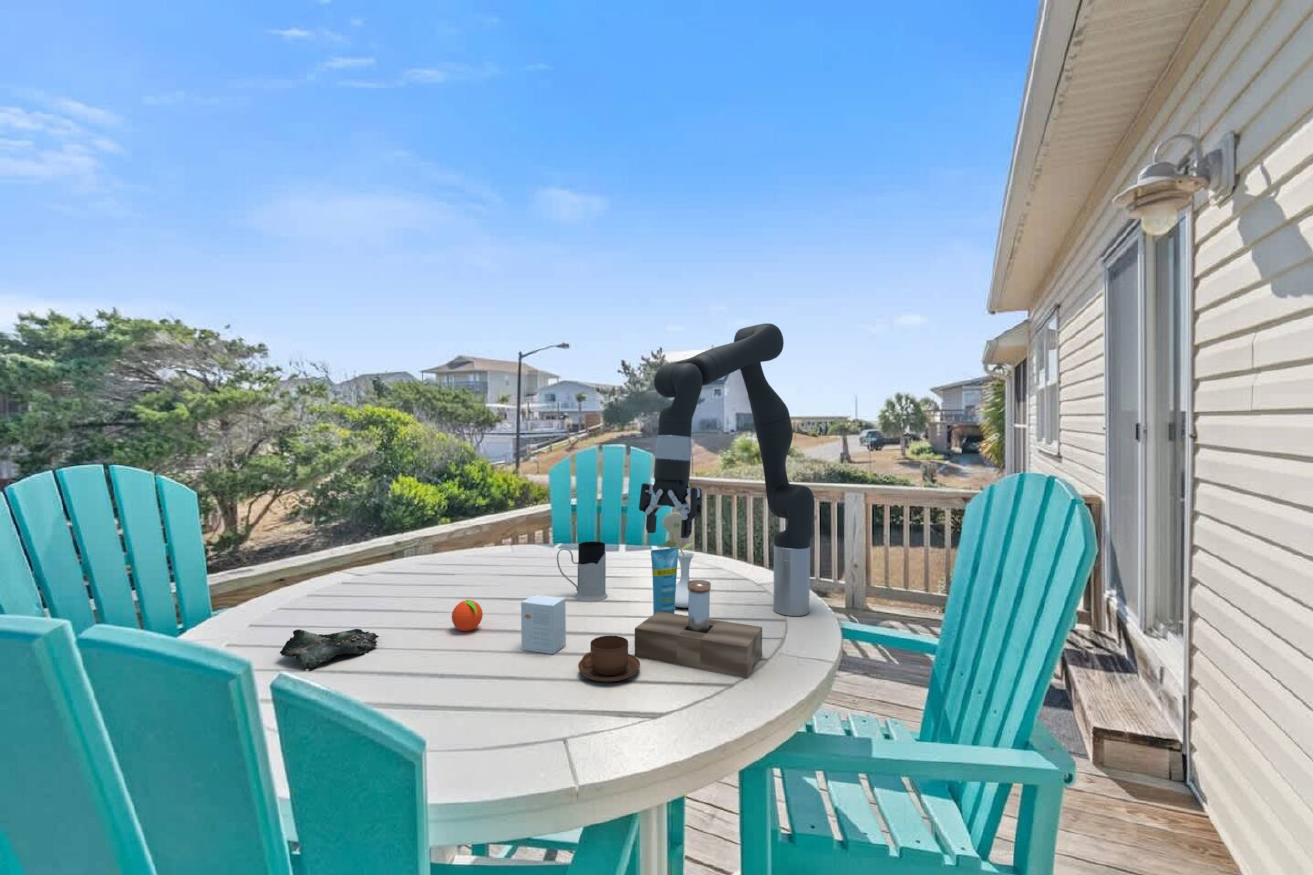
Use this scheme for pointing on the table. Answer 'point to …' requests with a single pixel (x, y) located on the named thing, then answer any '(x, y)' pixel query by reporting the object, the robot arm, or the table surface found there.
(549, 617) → the small box
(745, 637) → the block
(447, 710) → the table surface
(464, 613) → the clementine
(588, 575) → the glass holder
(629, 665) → the cup and saucer
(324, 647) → the decorative rock
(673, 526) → the flower in vase
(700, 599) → the plug
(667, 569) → the tube
